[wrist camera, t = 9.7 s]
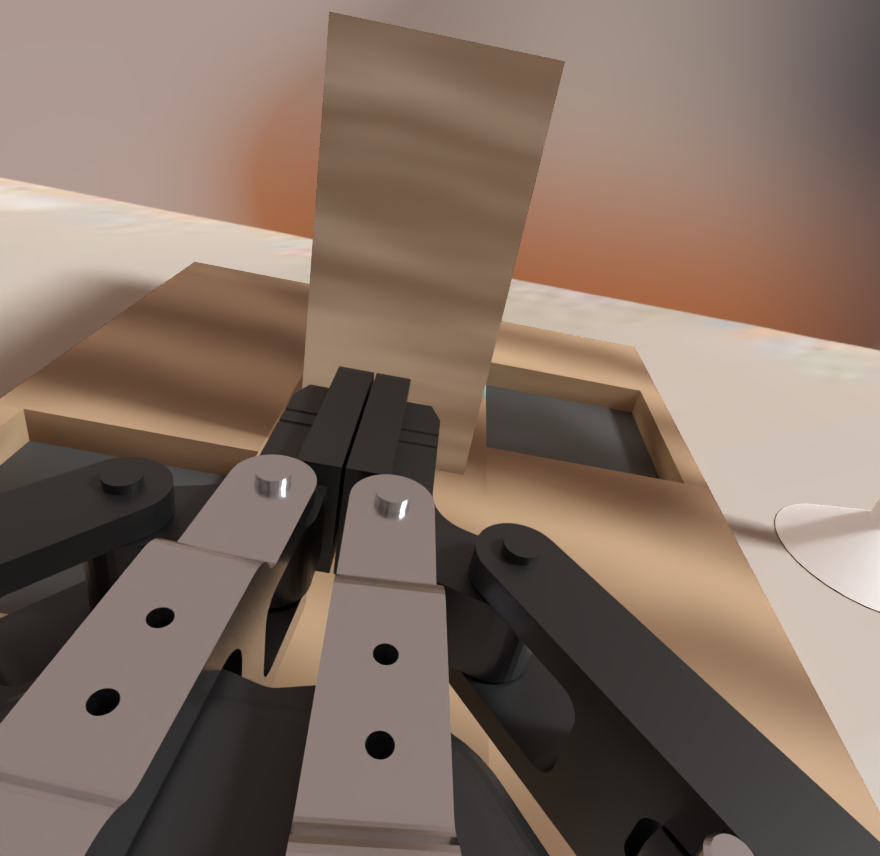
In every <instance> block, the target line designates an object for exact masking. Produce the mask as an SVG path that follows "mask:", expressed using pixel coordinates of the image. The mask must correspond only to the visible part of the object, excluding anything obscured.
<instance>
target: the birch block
mask: <svg viewBox="0 0 880 856" xmlns="http://www.w3.org/2000/svg"><path fill="white" fill-rule="evenodd" d="M564 63H565V62H564V61H560V60H556V59H551V58H546V57H541V56H537V55H532V54H527V53H522V52H518V51H513V50H508V49H503V48H499V47H494V46H489V45H484V44H480V43H475V42H471V41H466V40H461V39H456V38H452V37H447V36H442V35H437V34H433V33H427V32H423V31H418V30H413V29H409V28H404V27H400V26H395V25H390V24H385V23H380V22H376V21H371V20H367V19H362V18H357V17H352V16H347V15H343V14H338V13H333V12H329V24H328V37H327V51H326V65H325V80H324V93H323V107H322V121H321V134H320V148H319V162H318V176H317V190H316V204H315V218H314V232H313V245H312V259H311V273H310V287H309V301H308V315H307V329H306V342H305V356H304V370H303V384H302V389H303V388H305V387H306V386H308V385H310V384H311V385H316V386H322V387H327V388H329V387H330V385H331V383H332V381H333V379H334V376H335V374H336V372H337V370H338V368H339V366H342V367H347V368H353V369H358V370H364V371H369V372H374V380H375V377H376V374H377V373H381V374H386V375H392V376H397V377H403V378H408V379H411V383H410V389H409V395H408V401H407V402H411V403H416V404H422V405H427V406H432V408H433V409H434V411H435V413H436V414H437V416H438V418H439V419H440V429H439V437H438V438H439V439H438V448H437V458H436V468H435V470H440V471H445V472H451V473H456V474H462V475H464V471H465V467H466V463H467V459H468V455H469V450H470V446H471V442H472V438H473V434H474V430H475V426H476V422H477V418H478V414H479V410H480V406H481V402H482V397H483V393H484V389H485V385H486V381H487V377H488V373H489V369H490V365H491V361H492V357H493V353H494V348H495V344H496V340H497V336H498V332H499V328H500V324H501V320H502V316H503V312H504V308H505V304H506V300H507V295H508V291H509V287H510V283H511V279H512V275H513V271H514V267H515V263H516V259H517V255H518V251H519V247H520V242H521V238H522V234H523V230H524V226H525V222H526V218H527V214H528V210H529V206H530V202H531V197H532V193H533V189H534V185H535V181H536V177H537V173H538V169H539V165H540V161H541V157H542V153H543V148H544V145H545V140H546V136H547V132H548V128H549V124H550V120H551V116H552V112H553V107H554V104H555V100H556V96H557V91H558V87H559V83H560V79H561V75H562V71H563V67H564Z"/></svg>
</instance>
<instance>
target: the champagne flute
mask: <svg viewBox="0 0 880 856" xmlns="http://www.w3.org/2000/svg"><path fill="white" fill-rule="evenodd" d="M775 526H776V530H777V533H778V535H779V538H780V540H781V541H782V543H783V544H784V546H785V547H786V549H787V550H788V551H789V552H790V553H791V554H792V556H793V557H794V558H795V559H796V560H797V561H798V562H799V563H800V564H801V565H802V566H804V567H805V568H806V569H807V570H808V571H809V572H810V573H811V574H813V575H814V576H816V577H817V578H818V579H820V580H821V581H822V582H824V583H825V584H826V585H828V586H830V587H831V588H833V589H835V590H836V591H838V592H839V593H841V594H843V595H844V596H846V597H848V598H850V599H852V600H854V601H856V602H858V603H860V604H862V605H864V606H866V607H869V608H871V609H874V610H877V611H879V612H880V499H879V501H878V502H877V503H876V505H875V506H874V508H873V509H872V510H863V509H854V508H845V507H836V506H826V505H817V504H794V505H789V506H787V507H784V508H782V509H781V510H780V511H779V512H778V513H777V516H776V519H775Z"/></svg>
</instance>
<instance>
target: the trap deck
mask: <svg viewBox="0 0 880 856" xmlns="http://www.w3.org/2000/svg"><path fill="white" fill-rule="evenodd" d="M309 287H310V284H306V283H301V282H296V281H291V280H285V279H280V278H275V277H270V276H265V275H260V274H254V273H249V272H244V271H239V270H234V269H229V268H223V267H218V266H213V265H208V264H203V263H198V262H194V263H192V264H191V265H190V266H188V267H187V268H185V269H184V270H182V271H181V272H180V273H178V274H177V275H175V276H174V277H173V278H171V279H170V280H168V281H167V282H165V283H164V284H163V285H161V286H160V287H158V288H157V289H155V290H154V291H153V292H151V293H150V294H148V295H147V296H145V297H144V298H143V299H141V300H140V301H138V302H137V303H136V304H134V305H133V306H131V307H130V308H128V309H127V310H126V311H124V312H123V313H121V314H120V315H118V316H117V317H116V318H114V319H113V320H111V321H110V322H108V323H107V324H106V325H104V326H103V327H101V328H100V329H98V330H97V331H96V332H94V333H93V334H91V335H90V336H89V337H87V338H86V339H84V340H83V341H81V342H80V343H79V344H77V345H76V346H74V347H73V348H71V349H70V350H69V351H67V352H66V353H64V354H63V355H61V356H60V357H59V358H57V359H56V360H54V361H53V362H52V363H50V364H49V365H47V366H46V367H44V368H43V369H42V370H40V371H39V372H37V373H36V374H34V375H33V376H32V377H30V378H29V379H27V380H26V381H24V382H23V383H22V384H20V385H19V386H17V387H16V388H14V389H13V390H12V391H10V392H9V393H7V394H6V395H5V396H3V397H2V398H0V493H3V492H7V491H10V490H13V489H16V488H19V487H22V486H25V485H28V484H32V483H35V482H38V481H41V480H44V479H47V478H50V477H54V476H57V475H60V474H63V473H66V472H69V471H72V470H76V469H79V468H82V467H85V466H88V465H91V464H94V463H97V462H101V461H104V460H108V459H113V458H119V457H141V458H147V459H151V460H154V461H157V462H159V463H161V464H163V465H164V466H166V467H167V468H168V469H169V470H170V471H171V473H172V475H173V480H174V486H193V485H211V484H218V483H222V482H223V480H224V479H225V478H226V476H227V475H228V474H229V472H230V471H231V470H232V469H233V468H234V467H235V466H236V465H237V464H238V463H240V462H242V461H244V460H246V459H248V458H251V457H255V456H259V455H260V453H261V451H262V450H263V448H264V446H265V444H266V442H267V441H268V439H269V437H270V435H271V433H272V432H273V430H274V428H275V426H276V424H277V423H278V422H279V420H280V417H281V415H282V414H283V412H284V411H285V409H286V406H287V405H288V403H289V401H290V399H291V397H292V396H293V394H295V393H296V392H298V391H300V390H301V389H302V384H303V370H304V356H305V342H306V329H307V315H308V301H309ZM433 500H434V504H435V506H436V508H437V509H438V511H439V512H440V513H441V514H442V515H443V516H444V517H445V518H446V519H447V520H448V521H450V522H451V523H453V524H454V525H456V526H457V527H460V528H462V529H464V530H466V531H468V532H471V533H473V534H476V535H479V534H480V533H481V531H482V530H484V529H485V528H487V527H489V526H491V525H495V524H499V523H515V524H520V525H524V526H528V527H530V528H533V529H535V530H537V531H539V532H541V533H543V534H544V535H546V536H547V537H548V538H550V539H551V540H552V541H553V542H554V543H555V544H556V545H557V546H558V547H560V548H561V549H562V550H563V551H564V552H565V553H566V554H567V555H568V556H569V557H570V558H572V559H573V560H574V561H575V562H576V563H577V564H578V565H579V566H580V567H581V568H582V569H584V570H585V571H586V572H587V573H588V574H589V575H590V576H591V577H592V578H593V579H594V580H595V581H597V582H598V583H599V584H600V585H601V586H602V587H603V588H604V589H605V590H606V591H607V592H609V593H610V594H611V595H612V596H613V597H614V598H615V599H616V600H617V601H618V602H619V603H621V604H622V605H623V606H624V607H625V608H626V609H627V610H628V611H629V612H630V613H631V614H633V615H634V616H635V617H636V618H637V619H638V620H639V621H640V622H641V623H642V624H643V625H645V626H646V627H647V628H648V629H649V630H650V631H651V632H652V633H653V634H654V635H655V636H656V637H658V638H659V639H660V640H661V641H662V642H663V643H664V644H665V645H666V646H667V647H668V648H670V649H671V650H672V651H673V652H674V653H675V654H676V655H677V656H678V657H679V658H680V659H682V660H683V661H684V662H685V663H686V664H687V665H688V666H689V667H690V668H691V669H692V670H694V671H695V672H696V673H697V674H698V675H699V676H700V677H701V678H702V679H703V680H704V681H705V682H707V683H708V684H709V685H710V686H711V687H712V688H713V689H714V690H715V691H716V692H717V693H719V694H720V695H721V696H722V697H723V698H724V699H725V700H726V701H727V702H728V703H729V704H731V705H732V706H733V707H734V708H735V709H736V710H737V711H738V712H739V713H740V714H741V715H743V716H744V717H745V718H746V719H747V720H748V721H749V722H750V723H751V724H752V725H753V726H754V727H756V728H757V729H758V730H759V731H760V732H761V733H762V734H763V735H764V736H765V737H766V738H768V739H769V740H770V741H771V742H772V743H773V744H774V745H775V746H776V747H777V748H778V749H780V750H781V751H782V752H783V753H784V754H785V755H786V756H787V757H788V758H789V759H790V760H792V761H793V762H794V763H795V764H796V765H797V766H798V767H799V768H800V769H801V770H802V771H803V772H805V773H806V774H807V775H808V776H809V777H810V778H811V779H812V780H813V781H814V782H815V783H817V784H818V785H819V786H820V787H821V788H822V789H823V790H824V791H825V792H826V793H827V794H829V795H830V796H831V797H832V798H833V799H834V800H835V801H836V802H837V803H838V804H839V805H841V806H842V807H843V808H844V809H845V810H846V811H847V812H848V813H849V814H850V815H851V816H852V817H854V818H855V819H856V820H857V821H858V822H859V823H860V824H861V825H862V826H863V827H864V828H866V829H867V830H868V831H869V832H870V833H871V834H872V835H873V836H874V837H875V838H876V839H878V840H879V841H880V812H879V810H878V808H877V806H876V804H875V803H874V801H873V799H872V797H871V795H870V793H869V791H868V789H867V787H866V785H865V784H864V782H863V780H862V778H861V776H860V774H859V772H858V770H857V768H856V766H855V765H854V763H853V761H852V759H851V757H850V755H849V753H848V751H847V749H846V747H845V746H844V744H843V742H842V740H841V738H840V736H839V734H838V732H837V730H836V728H835V727H834V725H833V723H832V721H831V719H830V717H829V715H828V713H827V711H826V709H825V708H824V706H823V704H822V702H821V700H820V698H819V696H818V694H817V692H816V690H815V689H814V687H813V685H812V683H811V681H810V679H809V677H808V675H807V673H806V671H805V670H804V668H803V666H802V664H801V662H800V660H799V658H798V656H797V654H796V652H795V651H794V649H793V647H792V645H791V643H790V641H789V639H788V637H787V635H786V633H785V632H784V630H783V628H782V626H781V624H780V622H779V620H778V618H777V616H776V614H775V613H774V611H773V609H772V607H771V605H770V603H769V601H768V599H767V597H766V595H765V594H764V592H763V590H762V588H761V586H760V584H759V582H758V580H757V578H756V576H755V575H754V573H753V571H752V569H751V567H750V565H749V563H748V561H747V559H746V557H745V556H744V554H743V552H742V550H741V548H740V546H739V544H738V542H737V540H736V538H735V537H734V535H733V533H732V531H731V529H730V527H729V525H728V523H727V521H726V519H725V518H724V516H723V514H722V512H721V510H720V508H719V506H718V504H717V502H716V500H715V499H714V497H713V495H712V493H711V491H710V489H709V487H708V485H707V483H706V481H705V480H704V478H703V476H702V474H701V472H700V470H699V468H698V466H697V464H696V462H695V461H694V459H693V457H692V455H691V453H690V451H689V449H688V447H687V445H686V443H685V442H684V440H683V438H682V436H681V434H680V432H679V430H678V428H677V426H676V424H675V423H674V421H673V419H672V417H671V415H670V413H669V411H668V409H667V407H666V405H665V404H664V402H663V400H662V398H661V396H660V394H659V392H658V390H657V388H656V386H655V385H654V383H653V381H652V379H651V377H650V375H649V373H648V371H647V369H646V367H645V366H644V364H643V362H642V360H641V358H640V356H639V354H638V352H637V350H636V348H635V347H632V346H626V345H621V344H616V343H611V342H606V341H601V340H595V339H590V338H585V337H580V336H575V335H570V334H564V333H559V332H554V331H549V330H544V329H539V328H533V327H528V326H523V325H518V324H513V323H508V322H502V321H501V324H500V328H499V332H498V336H497V340H496V344H495V348H494V353H493V357H492V361H491V365H490V369H489V373H488V377H487V381H486V385H485V389H484V393H483V397H482V402H481V406H480V410H479V414H478V418H477V422H476V426H475V430H474V434H473V438H472V442H471V446H470V450H469V455H468V459H467V463H466V467H465V471H464V475H462V474H456V473H451V472H445V471H440V470H435V478H434V487H433ZM335 555H336V552H335ZM334 563H335V556H334V559H333V563H332V566H331V570H330V573H325V572H319V571H315V573H314V576H313V579H312V583H311V585H310V588H309V590H308V591H307V595H306V604H305V608H304V610H303V613H302V615H301V617H300V620H299V622H298V624H297V627H296V629H295V631H294V634H293V636H292V639H291V641H290V643H289V646H288V648H287V650H286V653H285V655H284V658H283V660H282V662H281V665H280V667H279V669H278V672H277V674H276V676H275V679H274V681H273V684H272V686H271V688H282V687H296V686H311V685H316V682H317V676H318V670H319V664H320V659H321V653H322V647H323V641H324V635H325V629H326V623H327V617H328V612H329V606H330V600H331V594H332V588H333V582H334V577H335V574H333V571H334ZM83 581H85V575H84V568H83V563H81V564H79V565H76V566H74V567H72V568H69V569H67V570H64V571H62V572H60V573H57V574H55V575H53V576H50V577H48V578H45V579H43V580H41V581H38V582H36V583H34V584H31V585H29V586H27V587H24V588H22V589H19V590H17V591H15V592H12V593H10V594H8V595H6V596H4V597H2V598H0V618H1V617H4V616H6V615H8V614H10V613H13V612H15V611H17V610H19V609H22V608H24V607H26V606H28V605H31V604H33V603H35V602H37V601H40V600H42V599H44V598H47V597H49V596H51V595H53V594H56V593H58V592H60V591H62V590H65V589H67V588H69V587H71V586H74V585H76V584H78V583H80V582H83ZM449 699H450V725H451V733H452V734H453V735H455V736H456V737H457V738H459V739H460V740H462V741H463V742H464V743H466V744H467V745H468V746H469V747H470V748H471V749H472V750H473V751H474V752H475V753H476V754H478V755H479V756H480V757H481V759H482V760H483V761H484V762H485V763H486V764H487V766H488V767H489V768H490V769H491V770H492V771H493V773H494V774H495V775H496V777H497V778H498V779H499V781H500V782H501V784H502V785H503V786H504V788H505V789H506V791H507V792H508V794H509V795H510V797H511V798H512V800H513V801H514V803H515V804H516V806H517V807H518V809H519V810H520V812H521V813H522V815H523V816H524V818H525V819H526V821H527V822H528V824H529V825H530V827H531V828H532V830H533V831H534V833H535V834H536V836H537V837H538V839H539V840H540V842H541V843H542V845H543V846H544V848H545V849H546V851H547V852H548V854H549V855H550V856H576V854H575V853H574V852H573V850H572V849H571V848H570V846H569V845H568V843H567V842H566V841H565V839H564V838H563V837H562V835H561V834H560V833H559V831H558V830H557V829H556V827H555V826H554V825H553V823H552V822H551V821H550V819H549V818H548V816H547V815H546V814H545V812H544V811H543V810H542V808H541V807H540V806H539V804H538V803H537V802H536V800H535V799H534V798H533V796H532V795H531V793H530V792H529V791H528V789H527V788H526V787H525V785H524V784H523V783H522V781H521V780H520V779H519V777H518V776H517V775H516V773H515V772H514V770H513V769H512V768H511V766H510V765H509V764H508V762H507V761H506V760H505V758H504V757H503V756H502V754H501V753H500V752H499V750H498V749H497V748H496V746H495V745H494V743H493V742H492V741H491V739H490V738H489V737H488V735H487V734H486V733H485V731H484V730H483V729H482V727H481V726H480V725H479V723H478V722H477V720H476V719H475V718H474V716H473V715H472V714H471V712H470V711H469V710H468V708H467V707H466V706H465V704H464V703H463V702H462V700H461V699H460V698H459V696H458V695H457V693H456V692H455V691H454V689H453V688H452V687H451V685H450V684H449Z"/></svg>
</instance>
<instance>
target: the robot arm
mask: <svg viewBox="0 0 880 856" xmlns="http://www.w3.org/2000/svg"><path fill="white" fill-rule="evenodd" d="M410 383H411V379H408V378H403V377H397V376H392V375H386V374H381V373H377V374H376V377H375V380H374V372H369V371H364V370H358V369H353V368H347V367H342V366H339V368H338V370H337V372H336V374H335V376H334V379H333V381H332V383H331V385H330V387H329V388H327V387H322V386H316V385H311V384H310V385H308V386H306V387H305V388H303V389H301V390H300V391H298V392H296V393H295V394H293V396H292V397H291V399H290V401H289V403H288V405H287V406H286V409H285V411H284V412H283V414H282V415H281V417H280V420H279V422H278V423H277V424H276V426H275V428H274V430H273V432H272V433H271V435H270V437H269V439H268V441H267V442H266V444H265V446H264V448H263V450H262V451H261V453H260V455H259V456H255V457H251V458H248V459H246V460H244V461H242V462H240V463H238V464H237V465H236V466H235V467H234V468H233V469H232V470H231V471H230V472H229V474H228V475H227V476H226V478H225V479H224V480H223V482H222V483H218V484H211V485H193V486H174V480H173V475H172V473H171V471H170V470H169V469H168V468H167V467H166V466H164V465H163V464H161V463H159V462H157V461H154V460H151V459H147V458H141V457H119V458H113V459H108V460H104V461H101V462H97V463H94V464H91V465H88V466H85V467H82V468H79V469H76V470H72V471H69V472H66V473H63V474H60V475H57V476H54V477H50V478H47V479H44V480H41V481H38V482H35V483H32V484H28V485H25V486H22V487H19V488H16V489H13V490H10V491H7V492H3V493H0V598H2V597H4V596H6V595H8V594H10V593H12V592H15V591H17V590H19V589H22V588H24V587H27V586H29V585H31V584H34V583H36V582H38V581H41V580H43V579H45V578H48V577H50V576H53V575H55V574H57V573H60V572H62V571H64V570H67V569H69V568H72V567H74V566H76V565H79V564H81V563H83V568H84V575H85V581H83V582H80V583H78V584H76V585H74V586H71V587H69V588H67V589H65V590H62V591H60V592H58V593H56V594H53V595H51V596H49V597H47V598H44V599H42V600H40V601H37V602H35V603H33V604H31V605H28V606H26V607H24V608H22V609H19V610H17V611H15V612H13V613H10V614H8V615H6V616H4V617H1V618H0V856H550V855H549V854H548V852H547V851H546V849H545V848H544V846H543V845H542V843H541V842H540V840H539V839H538V837H537V836H536V834H535V833H534V831H533V830H532V828H531V827H530V825H529V824H528V822H527V821H526V819H525V818H524V816H523V815H522V813H521V812H520V810H519V809H518V807H517V806H516V804H515V803H514V801H513V800H512V798H511V797H510V795H509V794H508V792H507V791H506V789H505V788H504V786H503V785H502V784H501V782H500V781H499V779H498V778H497V777H496V775H495V774H494V773H493V771H492V770H491V769H490V768H489V767H488V766H487V764H486V763H485V762H484V761H483V760H482V759H481V757H480V756H479V755H478V754H476V753H475V752H474V751H473V750H472V749H471V748H470V747H469V746H468V745H467V744H466V743H464V742H463V741H462V740H460V739H459V738H457V737H456V736H455V735H453V734H452V733H451V725H450V699H449V684H450V685H451V687H452V688H453V689H454V691H455V692H456V693H457V695H458V696H459V698H460V699H461V700H462V702H463V703H464V704H465V706H466V707H467V708H468V710H469V711H470V712H471V714H472V715H473V716H474V718H475V719H476V720H477V722H478V723H479V725H480V726H481V727H482V729H483V730H484V731H485V733H486V734H487V735H488V737H489V738H490V739H491V741H492V742H493V743H494V745H495V746H496V748H497V749H498V750H499V752H500V753H501V754H502V756H503V757H504V758H505V760H506V761H507V762H508V764H509V765H510V766H511V768H512V769H513V770H514V772H515V773H516V775H517V776H518V777H519V779H520V780H521V781H522V783H523V784H524V785H525V787H526V788H527V789H528V791H529V792H530V793H531V795H532V796H533V798H534V799H535V800H536V802H537V803H538V804H539V806H540V807H541V808H542V810H543V811H544V812H545V814H546V815H547V816H548V818H549V819H550V821H551V822H552V823H553V825H554V826H555V827H556V829H557V830H558V831H559V833H560V834H561V835H562V837H563V838H564V839H565V841H566V842H567V843H568V845H569V846H570V848H571V849H572V850H573V852H574V853H575V854H576V856H880V841H879V840H878V839H876V838H875V837H874V836H873V835H872V834H871V833H870V832H869V831H868V830H867V829H866V828H864V827H863V826H862V825H861V824H860V823H859V822H858V821H857V820H856V819H855V818H854V817H852V816H851V815H850V814H849V813H848V812H847V811H846V810H845V809H844V808H843V807H842V806H841V805H839V804H838V803H837V802H836V801H835V800H834V799H833V798H832V797H831V796H830V795H829V794H827V793H826V792H825V791H824V790H823V789H822V788H821V787H820V786H819V785H818V784H817V783H815V782H814V781H813V780H812V779H811V778H810V777H809V776H808V775H807V774H806V773H805V772H803V771H802V770H801V769H800V768H799V767H798V766H797V765H796V764H795V763H794V762H793V761H792V760H790V759H789V758H788V757H787V756H786V755H785V754H784V753H783V752H782V751H781V750H780V749H778V748H777V747H776V746H775V745H774V744H773V743H772V742H771V741H770V740H769V739H768V738H766V737H765V736H764V735H763V734H762V733H761V732H760V731H759V730H758V729H757V728H756V727H754V726H753V725H752V724H751V723H750V722H749V721H748V720H747V719H746V718H745V717H744V716H743V715H741V714H740V713H739V712H738V711H737V710H736V709H735V708H734V707H733V706H732V705H731V704H729V703H728V702H727V701H726V700H725V699H724V698H723V697H722V696H721V695H720V694H719V693H717V692H716V691H715V690H714V689H713V688H712V687H711V686H710V685H709V684H708V683H707V682H705V681H704V680H703V679H702V678H701V677H700V676H699V675H698V674H697V673H696V672H695V671H694V670H692V669H691V668H690V667H689V666H688V665H687V664H686V663H685V662H684V661H683V660H682V659H680V658H679V657H678V656H677V655H676V654H675V653H674V652H673V651H672V650H671V649H670V648H668V647H667V646H666V645H665V644H664V643H663V642H662V641H661V640H660V639H659V638H658V637H656V636H655V635H654V634H653V633H652V632H651V631H650V630H649V629H648V628H647V627H646V626H645V625H643V624H642V623H641V622H640V621H639V620H638V619H637V618H636V617H635V616H634V615H633V614H631V613H630V612H629V611H628V610H627V609H626V608H625V607H624V606H623V605H622V604H621V603H619V602H618V601H617V600H616V599H615V598H614V597H613V596H612V595H611V594H610V593H609V592H607V591H606V590H605V589H604V588H603V587H602V586H601V585H600V584H599V583H598V582H597V581H595V580H594V579H593V578H592V577H591V576H590V575H589V574H588V573H587V572H586V571H585V570H584V569H582V568H581V567H580V566H579V565H578V564H577V563H576V562H575V561H574V560H573V559H572V558H570V557H569V556H568V555H567V554H566V553H565V552H564V551H563V550H562V549H561V548H560V547H558V546H557V545H556V544H555V543H554V542H553V541H552V540H551V539H550V538H548V537H547V536H546V535H544V534H543V533H541V532H539V531H537V530H535V529H533V528H530V527H528V526H524V525H520V524H515V523H499V524H495V525H491V526H489V527H487V528H485V529H484V530H482V531H481V533H480V534H479V535H476V534H473V533H471V532H468V531H466V530H464V529H462V528H460V527H457V526H456V525H454V524H453V523H451V522H450V521H448V520H447V519H446V518H445V517H444V516H443V515H442V514H441V513H440V512H439V511H438V509H437V508H436V506H435V504H434V500H433V487H434V478H435V468H436V458H437V448H438V439H439V438H438V437H439V429H440V419H439V418H438V416H437V414H436V413H435V411H434V409H433V408H432V406H427V405H422V404H416V403H411V402H407V401H408V395H409V389H410ZM335 552H336V555H335ZM334 556H335V563H334V571H333V574H335V577H334V582H333V588H332V594H331V600H330V606H329V612H328V617H327V623H326V629H325V635H324V641H323V647H322V653H321V659H320V664H319V670H318V676H317V682H316V685H311V686H296V687H282V688H271V686H272V684H273V681H274V679H275V676H276V674H277V672H278V669H279V667H280V665H281V662H282V660H283V658H284V655H285V653H286V650H287V648H288V646H289V643H290V641H291V639H292V636H293V634H294V631H295V629H296V627H297V624H298V622H299V620H300V617H301V615H302V613H303V610H304V608H305V604H306V595H307V591H308V590H309V588H310V585H311V583H312V579H313V576H314V573H315V571H319V572H325V573H330V570H331V566H332V563H333V559H334Z"/></svg>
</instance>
